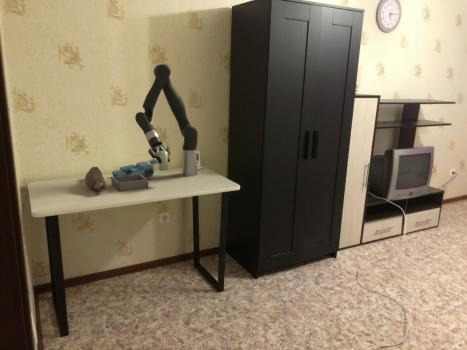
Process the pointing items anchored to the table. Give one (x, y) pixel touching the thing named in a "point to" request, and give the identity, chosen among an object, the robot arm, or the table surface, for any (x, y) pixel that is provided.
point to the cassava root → (95, 179)
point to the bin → (129, 182)
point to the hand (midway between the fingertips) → (165, 162)
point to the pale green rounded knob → (163, 160)
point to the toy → (137, 169)
